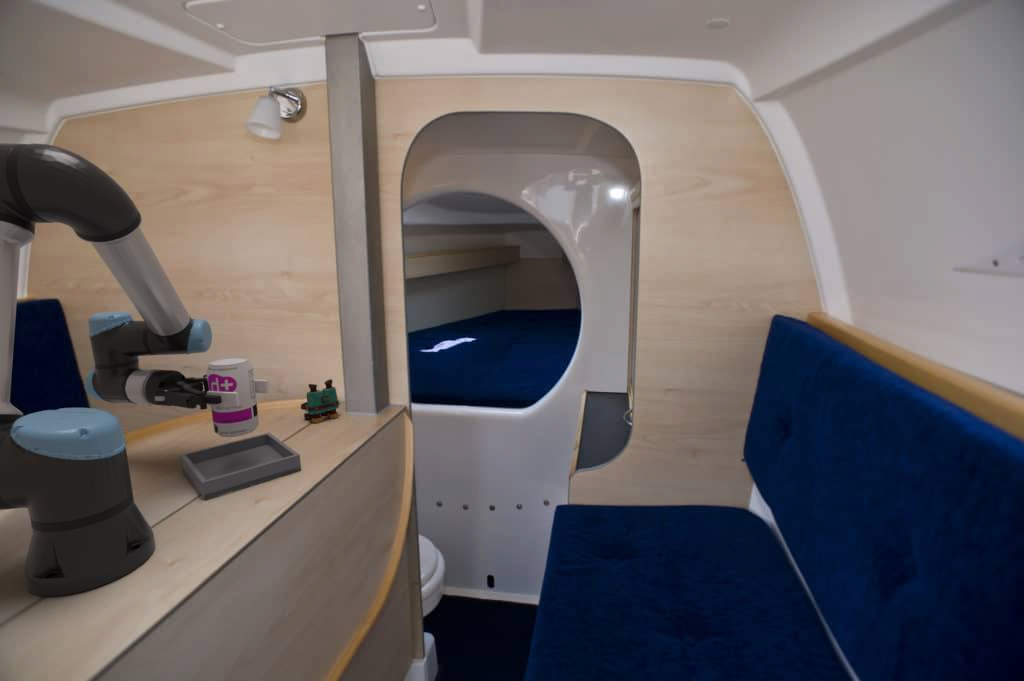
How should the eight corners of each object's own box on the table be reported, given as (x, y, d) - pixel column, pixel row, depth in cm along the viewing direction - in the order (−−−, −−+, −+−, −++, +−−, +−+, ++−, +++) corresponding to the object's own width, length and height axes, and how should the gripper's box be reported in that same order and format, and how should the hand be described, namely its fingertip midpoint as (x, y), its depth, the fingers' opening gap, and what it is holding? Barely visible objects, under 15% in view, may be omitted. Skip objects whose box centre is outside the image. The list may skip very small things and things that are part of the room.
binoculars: (322, 376, 146) (340, 379, 139) (327, 412, 147) (344, 416, 140) (291, 382, 139) (308, 385, 133) (296, 420, 141) (313, 425, 134)
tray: (204, 500, 96) (202, 482, 95) (182, 470, 108) (180, 454, 108) (301, 470, 108) (299, 454, 107) (270, 446, 121) (269, 432, 120)
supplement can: (240, 439, 102) (232, 366, 99) (205, 436, 104) (195, 365, 101) (267, 425, 110) (260, 357, 107) (234, 422, 112) (226, 355, 109)
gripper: (199, 389, 119) (286, 395, 115) (115, 421, 99) (216, 429, 95) (195, 358, 118) (283, 362, 114) (108, 384, 98) (211, 390, 93)
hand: (253, 392), depth 104 cm, fingers closed on supplement can, 8 cm apart
